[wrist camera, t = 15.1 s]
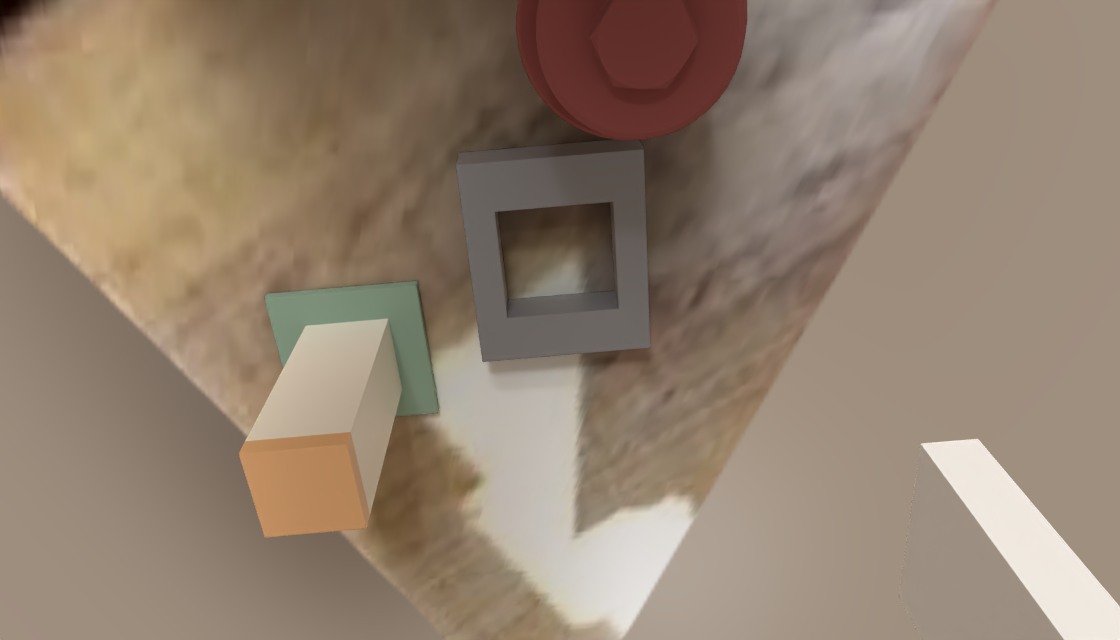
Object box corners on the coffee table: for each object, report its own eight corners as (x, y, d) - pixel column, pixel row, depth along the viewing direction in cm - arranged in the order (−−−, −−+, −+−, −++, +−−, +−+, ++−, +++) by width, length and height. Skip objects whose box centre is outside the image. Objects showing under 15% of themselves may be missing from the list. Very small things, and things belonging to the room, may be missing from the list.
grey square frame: (459, 152, 46) (455, 165, 44) (638, 137, 46) (643, 149, 44) (484, 342, 51) (482, 361, 49) (644, 328, 51) (650, 347, 49)
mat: (267, 293, 49) (264, 298, 49) (417, 280, 49) (416, 284, 49) (300, 419, 54) (297, 424, 53) (438, 407, 54) (437, 412, 53)
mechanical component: (721, -99, 41) (698, 105, 45) (519, -108, 40) (516, 99, 45) (793, -100, 30) (753, 170, 34) (517, -113, 29) (512, 163, 34)
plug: (305, 325, 50) (238, 453, 38) (388, 318, 50) (346, 444, 38) (323, 396, 52) (264, 537, 40) (402, 389, 52) (366, 528, 40)
